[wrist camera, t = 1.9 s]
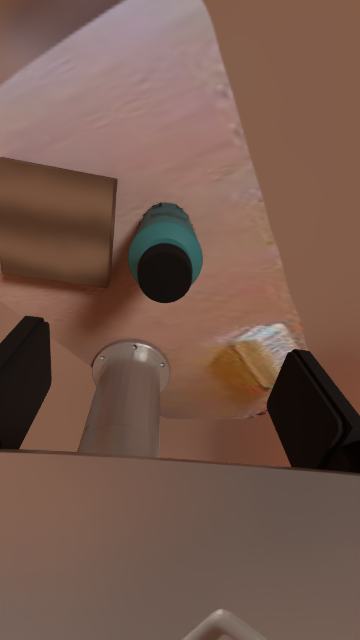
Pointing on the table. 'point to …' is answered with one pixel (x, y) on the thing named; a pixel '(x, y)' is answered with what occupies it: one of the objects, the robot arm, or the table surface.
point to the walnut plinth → (56, 223)
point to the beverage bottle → (165, 253)
